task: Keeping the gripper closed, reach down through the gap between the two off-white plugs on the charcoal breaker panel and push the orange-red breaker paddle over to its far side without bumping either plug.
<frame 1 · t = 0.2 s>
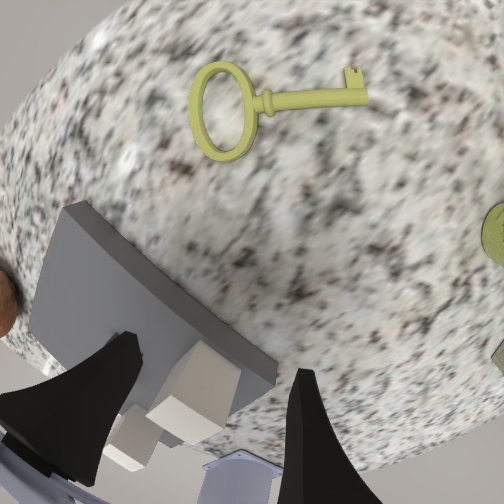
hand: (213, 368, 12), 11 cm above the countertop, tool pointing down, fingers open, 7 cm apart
tube: (500, 229, 17), on the countertop
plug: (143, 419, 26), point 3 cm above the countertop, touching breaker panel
key: (270, 104, 18), on the countertop
onion: (10, 288, 28), on the countertop
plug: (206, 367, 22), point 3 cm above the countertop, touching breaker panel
breaker panel: (132, 341, 26), on the countertop
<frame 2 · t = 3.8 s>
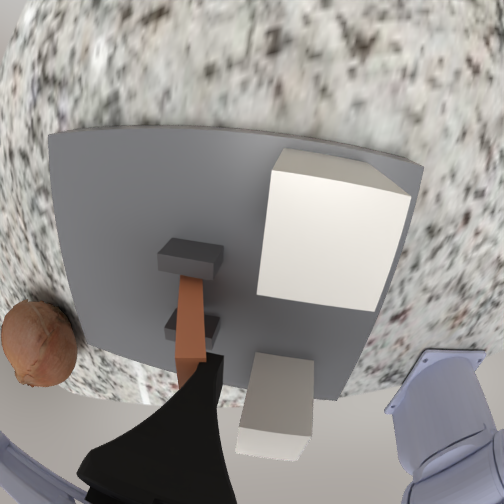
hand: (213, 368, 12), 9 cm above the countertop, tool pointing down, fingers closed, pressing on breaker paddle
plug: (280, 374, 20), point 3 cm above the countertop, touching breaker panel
onion: (61, 319, 27), on the countertop
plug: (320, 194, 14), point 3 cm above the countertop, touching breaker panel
breaker panel: (211, 263, 20), on the countertop
breaker paddle: (191, 332, 14), point 7 cm above the countertop, hinge at 18.3°, touching gripper
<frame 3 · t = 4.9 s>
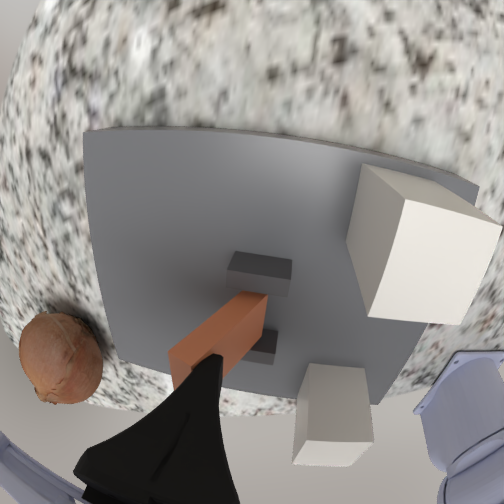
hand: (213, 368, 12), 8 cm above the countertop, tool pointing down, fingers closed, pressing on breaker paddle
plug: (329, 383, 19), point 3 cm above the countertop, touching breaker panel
onion: (82, 330, 26), on the countertop
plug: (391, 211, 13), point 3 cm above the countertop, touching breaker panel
breaker panel: (263, 274, 19), on the countertop
breaker paddle: (223, 343, 13), point 7 cm above the countertop, hinge at -22.2°, touching gripper
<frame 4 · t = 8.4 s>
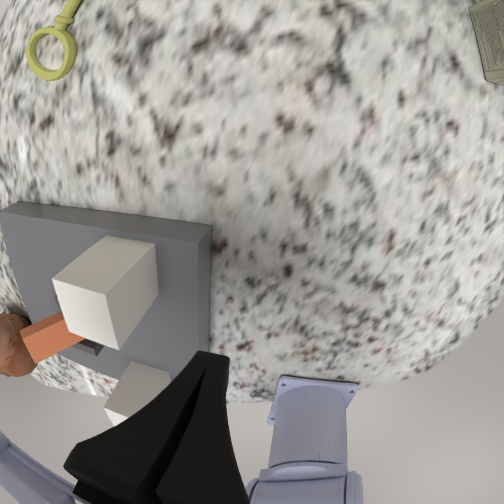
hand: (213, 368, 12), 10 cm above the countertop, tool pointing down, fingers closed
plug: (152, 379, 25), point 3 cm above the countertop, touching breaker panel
key: (72, 21, 14), on the countertop
onion: (29, 326, 33), on the countertop
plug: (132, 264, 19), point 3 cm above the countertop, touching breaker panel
breaker panel: (103, 296, 26), on the countertop
breaker paddle: (54, 334, 20), point 7 cm above the countertop, hinge at -29.3°
skincare box: (495, 46, 10), on the countertop
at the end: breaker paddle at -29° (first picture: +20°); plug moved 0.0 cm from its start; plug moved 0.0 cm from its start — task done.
